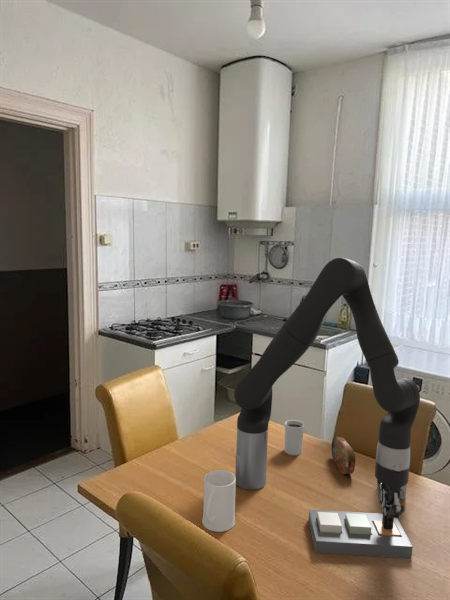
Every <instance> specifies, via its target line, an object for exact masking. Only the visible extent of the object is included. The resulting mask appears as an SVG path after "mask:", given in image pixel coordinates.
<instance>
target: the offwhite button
mask: <svg viewBox="0 0 450 600" xmlns="http://www.w3.org/2000/svg"><path fill="white" fill-rule="evenodd" d="M317 525H318V529H319V532H325V533H341V530H342V525H341V522H340V519H339V516H338V513H331V512H317Z"/></svg>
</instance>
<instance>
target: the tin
mask: <svg viewBox="0 0 450 600" xmlns="http://www.w3.org/2000/svg"><path fill="white" fill-rule="evenodd" d="M331 458H332V460H333V462H334V463H335V465H336V466H337V468H338V469H339V471H340V473H342V474H343V475H351V474H353V473H354V472H355V467H356V453H355V451H354V448H352V447H351V445H350V444H349V443H348V441H347V440H346V439H345V438H344V437H341V436H340V437H339V436H334V437H333V439H332V442H331Z"/></svg>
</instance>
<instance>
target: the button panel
mask: <svg viewBox="0 0 450 600" xmlns="http://www.w3.org/2000/svg"><path fill="white" fill-rule="evenodd" d="M317 512H331V513H338V516H339V519H340V522H341V525H342V530H341V533H325V532H319V529H318V525H317ZM346 513H348V514H366V516H367V518H368V521H369V523H370V525H371V535H359V534H349V533H348V530H347V527H346V524H345V515H346ZM382 517H383V513H375V512H357V511H341V510H340V511H339V510H323V509H322V510H321V509H308V524H309V529H310V533H311V537H312V542H313V543H312V544H313V547H314V550H315V553H317V554H329V555H331V554H333V555H347V556H349V555H350V556H363V557H364V556H365V557H382V558H395V559H396V558H397V559H412V558H413V557H412V556H413V545H412V543H411V541H410V539H409V537H408V536H407V534H406V532H405V530H404V528H403V526H402V524H401V523H400V521H399V518H394V523H395V525H396V527H397V529H398V531H399V533H400V534H401V537H394V536H378V533H377V531H376V529H375V527H374V524H373V520H374V521H382Z"/></svg>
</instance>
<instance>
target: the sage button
mask: <svg viewBox="0 0 450 600" xmlns="http://www.w3.org/2000/svg"><path fill="white" fill-rule="evenodd" d="M345 524H346V527H347V530H348V533H349V534H359V535H371V525H370V523H369V521H368V518H367V516H366V514H348V513H346V515H345Z"/></svg>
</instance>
